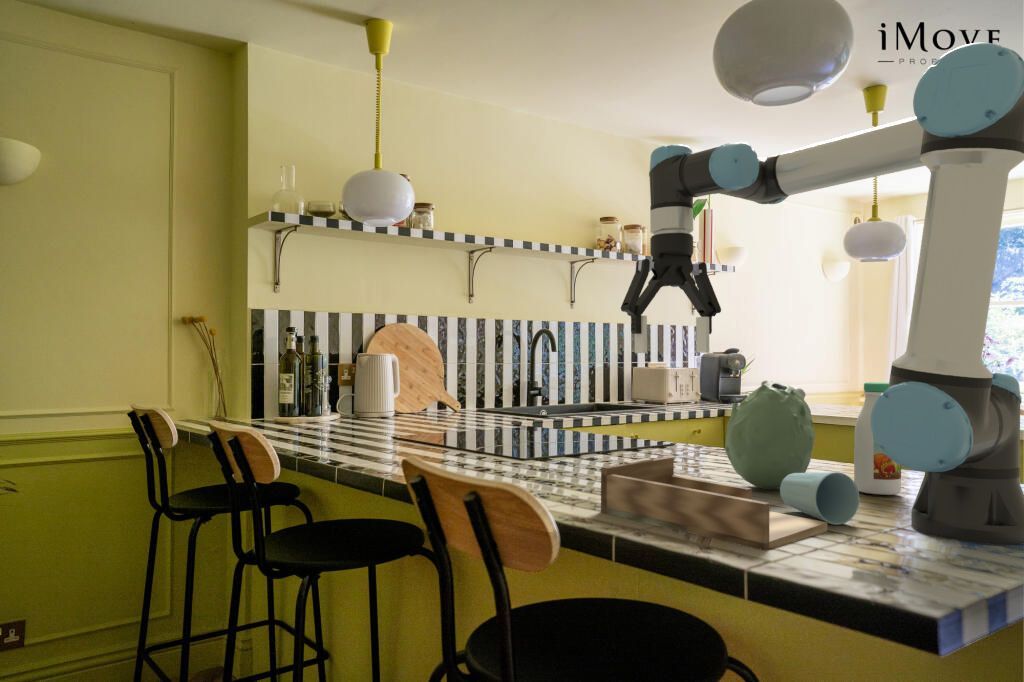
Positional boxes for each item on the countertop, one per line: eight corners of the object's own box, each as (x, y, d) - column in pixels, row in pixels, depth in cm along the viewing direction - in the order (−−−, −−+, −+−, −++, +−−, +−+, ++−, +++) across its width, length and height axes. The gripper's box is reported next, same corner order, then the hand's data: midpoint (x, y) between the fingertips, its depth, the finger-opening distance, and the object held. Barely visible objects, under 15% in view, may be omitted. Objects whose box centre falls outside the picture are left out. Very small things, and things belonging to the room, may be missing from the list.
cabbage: (709, 490, 135) (709, 381, 135) (746, 475, 149) (746, 378, 149) (796, 502, 125) (797, 385, 125) (827, 485, 140) (827, 380, 140)
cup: (821, 503, 119) (866, 513, 109) (783, 521, 117) (825, 532, 107) (806, 459, 119) (849, 465, 109) (767, 477, 117) (808, 484, 107)
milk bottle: (855, 493, 132) (855, 383, 132) (852, 486, 139) (853, 381, 139) (903, 497, 129) (903, 384, 129) (898, 489, 136) (898, 382, 136)
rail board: (827, 532, 105) (827, 478, 105) (764, 555, 93) (764, 494, 93) (667, 500, 126) (667, 454, 126) (600, 515, 115) (601, 465, 115)
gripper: (712, 241, 140) (713, 352, 139) (600, 233, 129) (601, 353, 129) (740, 235, 133) (741, 352, 133) (624, 226, 122) (625, 353, 122)
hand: (672, 353), depth 131 cm, fingers open, 13 cm apart
